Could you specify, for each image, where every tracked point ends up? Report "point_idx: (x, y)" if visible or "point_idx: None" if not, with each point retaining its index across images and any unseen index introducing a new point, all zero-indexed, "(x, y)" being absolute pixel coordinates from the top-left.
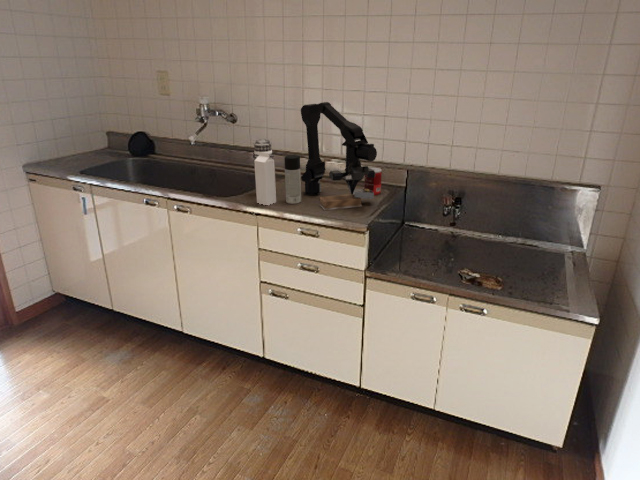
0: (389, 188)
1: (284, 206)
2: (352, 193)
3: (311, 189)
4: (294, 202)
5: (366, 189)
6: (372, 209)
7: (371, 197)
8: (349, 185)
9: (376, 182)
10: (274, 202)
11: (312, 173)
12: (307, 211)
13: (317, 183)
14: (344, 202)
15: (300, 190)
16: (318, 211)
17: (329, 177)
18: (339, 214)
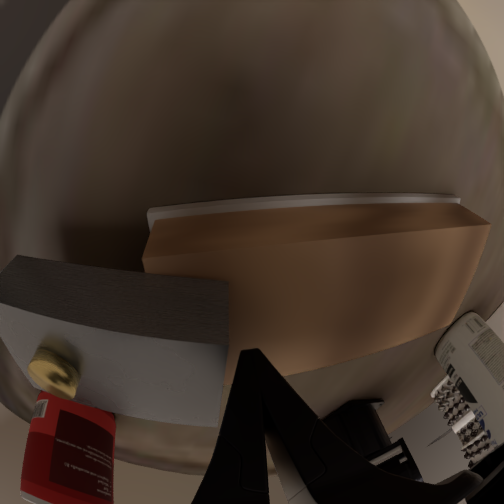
0: (26, 413)
1: (496, 287)
2: (247, 354)
3: (373, 420)
4: (473, 314)
5: (56, 382)
6: (73, 98)
7: (25, 264)
8: (343, 443)
9: (39, 446)
10: (489, 320)
11: (413, 474)
12: (496, 208)
13: (358, 449)
14: (357, 221)
15: (476, 366)
16: (475, 189)
17: (500, 444)
18: (415, 68)
